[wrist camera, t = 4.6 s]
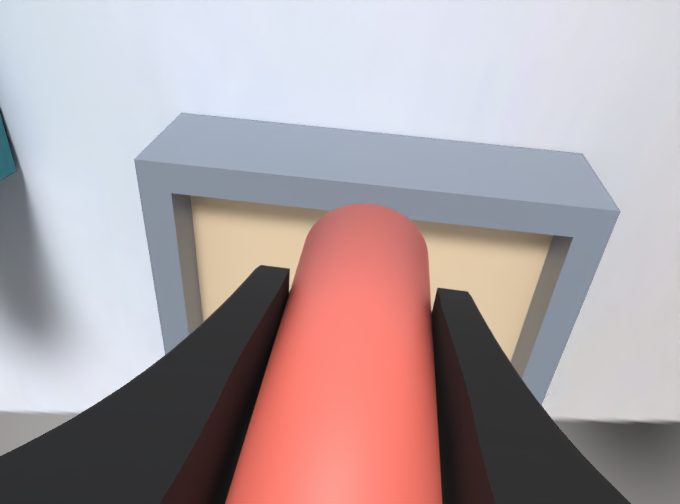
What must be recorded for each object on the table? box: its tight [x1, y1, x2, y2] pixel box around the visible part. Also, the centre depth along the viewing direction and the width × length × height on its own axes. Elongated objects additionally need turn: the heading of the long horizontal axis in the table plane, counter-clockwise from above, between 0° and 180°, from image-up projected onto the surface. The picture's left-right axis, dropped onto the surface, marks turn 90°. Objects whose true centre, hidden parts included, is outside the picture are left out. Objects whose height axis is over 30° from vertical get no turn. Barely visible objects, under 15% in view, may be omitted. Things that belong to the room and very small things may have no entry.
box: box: [134, 113, 620, 405], centre depth 21 cm, size 14×14×4 cm
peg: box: [225, 203, 442, 504], centre depth 10 cm, size 3×3×8 cm
